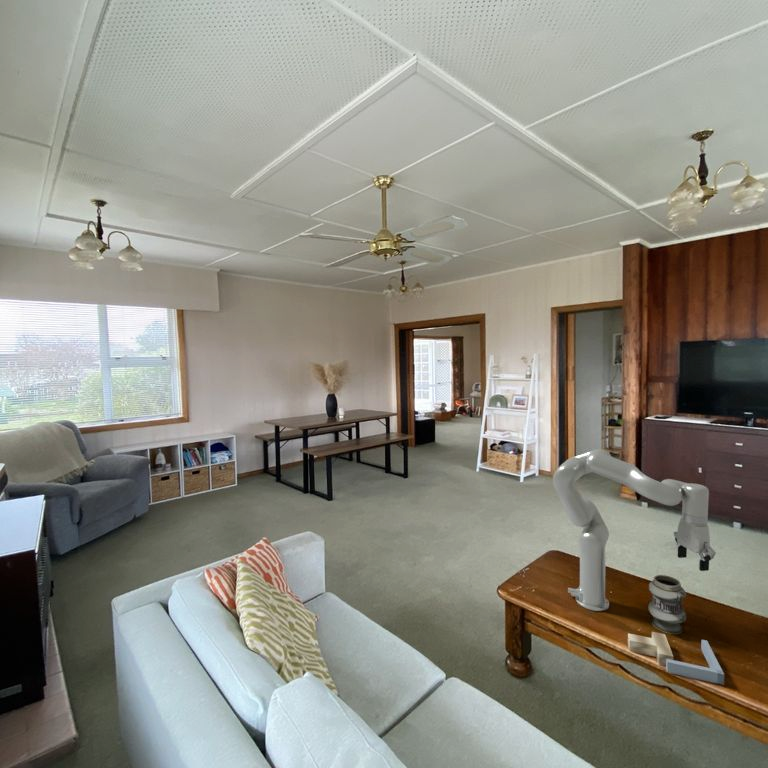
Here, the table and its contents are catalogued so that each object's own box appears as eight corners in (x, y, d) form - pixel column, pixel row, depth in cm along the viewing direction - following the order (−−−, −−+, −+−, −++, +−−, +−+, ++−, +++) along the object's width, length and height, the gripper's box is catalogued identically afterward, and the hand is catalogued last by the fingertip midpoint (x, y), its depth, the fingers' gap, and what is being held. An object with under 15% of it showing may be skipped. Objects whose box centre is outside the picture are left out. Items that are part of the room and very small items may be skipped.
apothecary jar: (645, 613, 169) (646, 569, 168) (682, 620, 164) (683, 575, 163) (650, 631, 158) (651, 584, 157) (689, 639, 153) (690, 591, 152)
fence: (667, 672, 138) (667, 661, 137) (656, 640, 153) (656, 630, 153) (724, 685, 132) (724, 674, 132) (706, 650, 147) (707, 640, 147)
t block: (631, 658, 144) (631, 647, 144) (626, 637, 155) (626, 626, 155) (673, 668, 139) (673, 656, 139) (664, 644, 150) (664, 634, 150)
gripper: (666, 510, 163) (665, 553, 164) (705, 528, 145) (703, 576, 147) (684, 509, 163) (683, 552, 165) (725, 527, 146) (723, 575, 147)
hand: (692, 563), depth 156 cm, fingers open, 9 cm apart
